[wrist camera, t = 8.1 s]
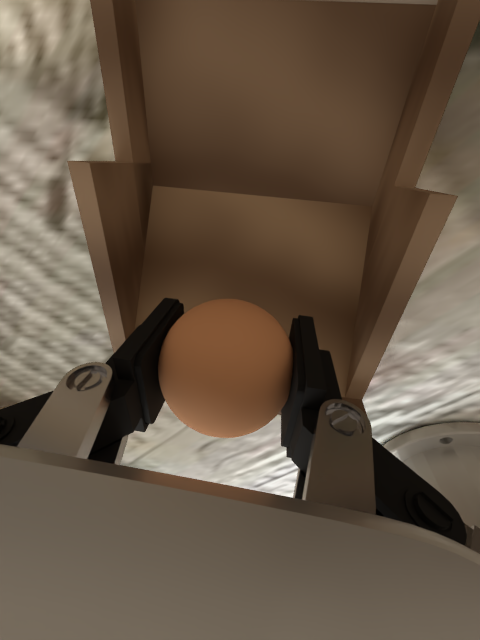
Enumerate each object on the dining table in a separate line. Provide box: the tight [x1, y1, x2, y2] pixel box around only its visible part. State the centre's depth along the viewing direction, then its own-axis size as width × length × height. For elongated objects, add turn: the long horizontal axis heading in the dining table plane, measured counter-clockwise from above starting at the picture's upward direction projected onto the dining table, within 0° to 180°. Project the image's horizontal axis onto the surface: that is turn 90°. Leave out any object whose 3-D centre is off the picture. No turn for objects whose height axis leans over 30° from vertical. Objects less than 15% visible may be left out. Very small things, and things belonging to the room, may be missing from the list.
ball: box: [158, 299, 293, 438], centre depth 9 cm, size 5×5×5 cm
